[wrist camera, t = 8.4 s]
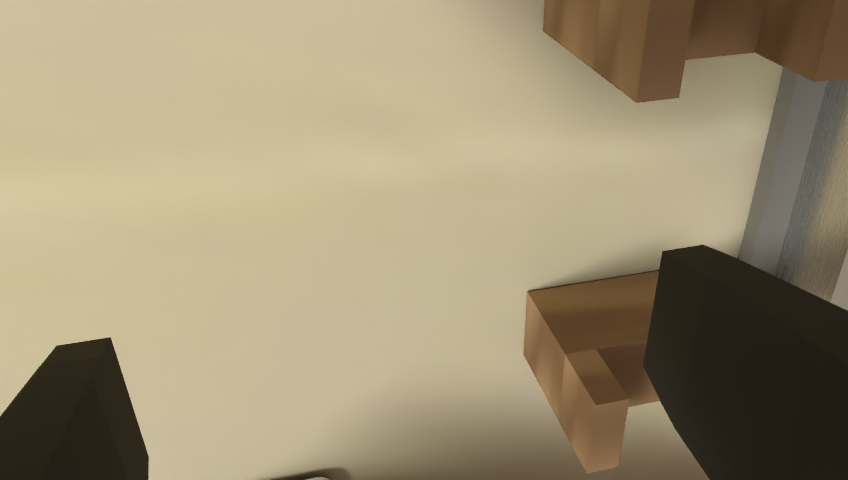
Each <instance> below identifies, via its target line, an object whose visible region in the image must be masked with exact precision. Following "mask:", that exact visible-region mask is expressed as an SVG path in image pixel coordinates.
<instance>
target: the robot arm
mask: <svg viewBox="0 0 848 480" xmlns="http://www.w3.org/2000/svg"><path fill="white" fill-rule="evenodd" d="M643 367H644V369H645V371H646V373H647V375H648V377H649V379H650V381H651V383H652V385H653V387H654V389H655V391H656V393H657V395H658V397H659V399H660V401H661V403H662V405H663V407H664V409H665V411H666V413H667V414H668V416H669V418H670V420H671V422H672V424H673V426H674V428H675V429H676V431H677V432H678V434H679V435H680V437H681V438H682V440H683V441H684V443H685V444H686V445H687V447H688V448H689V450H690V451H691V453H692V454H693V456H694V457H695V459H696V460H697V461H698V463H699V464H700V466H701V467H702V469H703V470H704V472H705V473H706V475H707V476H708V477H709V479H710V480H848V311H847V310H845V309H843V308H841V307H839V306H837V305H835V304H832V303H830V302H828V301H826V300H824V299H822V298H820V297H818V296H816V295H813V294H811V293H809V292H807V291H805V290H803V289H801V288H799V287H797V286H795V285H792V284H790V283H788V282H786V281H784V280H782V279H780V278H778V277H776V276H774V275H771V274H769V273H767V272H765V271H763V270H761V269H759V268H756V267H754V266H752V265H750V264H748V263H746V262H743V261H741V260H739V259H737V258H734V257H732V256H730V255H727V254H725V253H723V252H720V251H718V250H715V249H713V248H710V247H707V246H705V245H700V246H693V247H687V248H680V249H674V250H668V251H663V252H662V257H661V263H660V269H659V275H658V281H657V286H656V292H655V298H654V304H653V310H652V315H651V321H650V327H649V333H648V339H647V344H646V350H645V356H644V362H643ZM148 461H149V457H148V454H147V451H146V447H145V444H144V441H143V438H142V435H141V432H140V428H139V425H138V422H137V419H136V416H135V413H134V410H133V406H132V403H131V400H130V397H129V394H128V391H127V388H126V384H125V381H124V378H123V375H122V372H121V369H120V365H119V362H118V359H117V356H116V353H115V350H114V347H113V343H112V340H111V337H110V338H104V339H97V340H91V341H84V342H78V343H72V344H65V345H59V346H56V347H55V349H54V350H53V351H52V352H51V353H50V355H49V356H48V357H47V358H46V360H45V361H44V362H43V363H42V364H41V366H40V367H39V368H38V369H37V370H36V372H35V373H34V374H33V375H32V377H31V378H30V379H29V381H28V382H27V383H26V384H25V386H24V387H23V388H22V389H21V391H20V392H19V393H18V394H17V396H16V397H15V398H14V400H13V401H12V402H11V403H10V405H9V406H8V407H7V408H6V410H5V411H4V412H3V413H2V415H1V416H0V480H148ZM305 480H329V479H327V478H323V477H315V478H310V479H305Z"/></svg>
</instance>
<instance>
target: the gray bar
mask: <svg viewBox="0 0 848 480" xmlns="http://www.w3.org/2000/svg"><path fill="white" fill-rule="evenodd" d="M827 81H828V80H827ZM827 81H818V82H813V81H811V80H809V79H807V78H805V77H803V76H801V75H799V74H797V73H795V72H793V71H791V70H789V69H787V68H785V67H784V70H783V74H782V78H781V83H780V87H779V91H778V95H777V99H776V103H775V108H774V112H773V116H772V120H771V124H770V129H769V133H768V137H767V141H766V145H765V150H764V154H763V158H762V162H761V166H760V171H759V175H758V179H757V183H756V187H755V192H754V196H753V200H752V204H751V208H750V213H749V217H748V221H747V225H746V229H745V234H744V238H743V242H742V246H741V250H740V255H739V260H741V261H743V262H746V263H748V264H750V265H752V266H754V267H756V268H759V269H761V270H763V271H765V272H767V273H769V274H771V275H775V271H776V268H777V264H778V260H779V257H780V253H781V249H782V246H783V242H784V238H785V235H786V231H787V227H788V224H789V220H790V216H791V213H792V209H793V205H794V202H795V198H796V194H797V191H798V187H799V183H800V180H801V176H802V172H803V169H804V165H805V161H806V158H807V154H808V150H809V147H810V143H811V139H812V136H813V132H814V128H815V125H816V121H817V117H818V114H819V110H820V106H821V103H822V99H823V95H824V92H825V88H826V84H827Z"/></svg>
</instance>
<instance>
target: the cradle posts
mask: <svg viewBox="0 0 848 480" xmlns="http://www.w3.org/2000/svg"><path fill="white" fill-rule="evenodd" d="M543 31H544V32H545V33H546V34H548V35H549V36H550V37H552V38H553V39H554V40H556V41H557V42H558V43H559V44H561V45H562V46H563V47H565V48H566V49H567V50H569V51H570V52H571V53H572V54H574V55H575V56H576V57H578V58H579V59H580V60H582V61H583V62H584V63H585V64H587V65H588V66H589V67H591V68H592V69H593V70H595V71H596V72H597V73H598V74H600V75H601V76H602V77H604V78H605V79H606V80H608V81H609V82H610V83H611V84H613V85H614V86H615V87H617V88H618V89H619V90H621V91H622V92H623V93H624V94H626V95H627V96H628V97H630V98H631V99H632V100H634V101H635V102H636V103H637V102H646V101H654V100H663V99H672V98H679V94H680V88H681V81H682V75H683V69H684V63H685V60H688V59H697V58H706V57H716V56H725V55H735V54H744V53H754V52H755V53H757V54H759V55H761V56H763V57H765V58H767V59H769V60H771V61H773V62H775V63H777V64H779V65H781V66H783V67H785V68H787V69H789V70H791V71H793V72H795V73H797V74H799V75H801V76H803V77H805V78H807V79H809V80H811V81H813V82H818V81H827V80H836V79H844V78H848V0H545V9H544V25H543ZM658 275H659V271H654V272H648V273H642V274H635V275H629V276H623V277H617V278H611V279H604V280H598V281H592V282H586V283H580V284H573V285H567V286H561V287H555V288H548V289H542V290H536V291H530V292H527V307H526V324H525V341H524V356H525V358H526V360H527V362H528V364H529V366H530V368H531V369H532V371H533V373H534V375H535V377H536V379H537V381H538V383H539V385H540V386H541V388H542V390H543V392H544V394H545V396H546V398H547V400H548V401H549V403H550V405H551V407H552V409H553V411H554V413H555V415H556V417H557V418H558V420H559V422H560V424H561V426H562V428H563V430H564V432H565V434H566V435H567V437H568V439H569V441H570V443H571V445H572V447H573V449H574V451H575V452H576V454H577V456H578V458H579V460H580V462H581V464H582V466H583V468H584V469H585V471H586V473H587V474H588V473H593V472H597V471H602V470H607V469H612V468H616V467H618V464H619V458H620V452H621V445H622V439H623V433H624V427H625V421H626V415H627V409H628V407H631V406H636V405H641V404H646V403H651V402H656V401H660V399H659V397H658V395H657V393H656V391H655V389H654V387H653V385H652V383H651V381H650V379H649V377H648V375H647V373H646V371H645V369H644V367H643V362H644V356H645V350H646V344H647V339H648V333H649V327H650V321H651V315H652V310H653V304H654V298H655V292H656V286H657V281H658Z"/></svg>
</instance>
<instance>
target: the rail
mask: <svg viewBox="0 0 848 480" xmlns="http://www.w3.org/2000/svg"><path fill="white" fill-rule="evenodd" d="M774 276H776V277H778V278H780V279H782V280H784V281H786V282H788V283H790V284H792V285H795V286H797V287H799V288H801V289H803V290H805V291H807V292H809V293H811V294H813V295H816V296H818V297H820V298H822V299H824V300H826V301H828V302H830V303H832V304H835V305H837V306H839V307H841V308H843V309H845V310H847V311H848V78H844V79H836V80H828V81H827V84H826V88H825V92H824V95H823V99H822V103H821V106H820V110H819V114H818V117H817V121H816V125H815V128H814V132H813V136H812V139H811V143H810V147H809V150H808V154H807V158H806V161H805V165H804V169H803V172H802V176H801V180H800V183H799V187H798V191H797V194H796V198H795V202H794V205H793V209H792V213H791V216H790V220H789V224H788V227H787V231H786V235H785V238H784V242H783V246H782V249H781V253H780V257H779V260H778V264H777V268H776V271H775V275H774Z"/></svg>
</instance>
